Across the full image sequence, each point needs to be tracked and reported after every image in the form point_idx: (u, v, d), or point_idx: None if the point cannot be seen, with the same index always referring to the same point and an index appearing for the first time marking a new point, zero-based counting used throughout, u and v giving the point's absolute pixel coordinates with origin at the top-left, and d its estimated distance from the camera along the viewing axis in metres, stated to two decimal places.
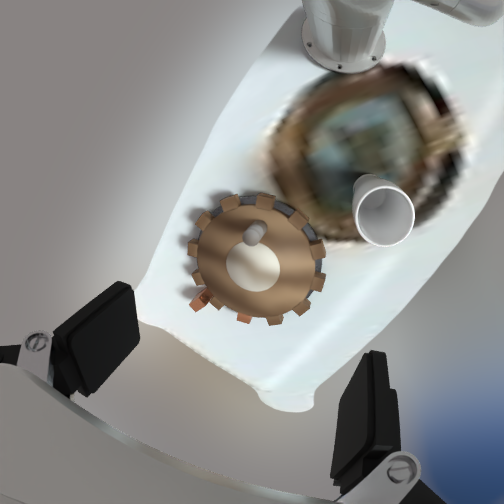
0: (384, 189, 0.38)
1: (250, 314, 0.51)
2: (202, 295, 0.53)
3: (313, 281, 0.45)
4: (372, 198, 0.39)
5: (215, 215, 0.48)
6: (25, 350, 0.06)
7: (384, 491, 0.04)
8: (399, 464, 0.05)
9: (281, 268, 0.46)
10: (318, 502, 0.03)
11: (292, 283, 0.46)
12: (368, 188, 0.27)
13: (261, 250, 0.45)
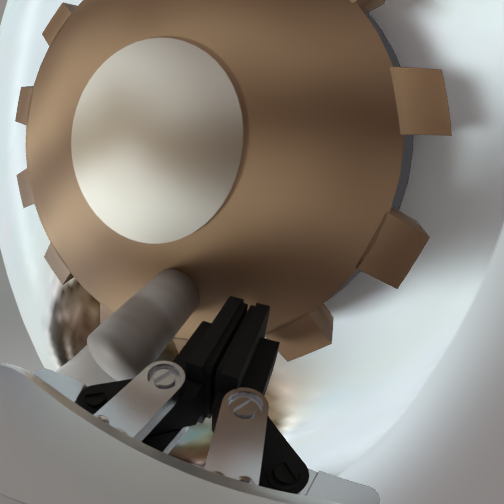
0: None
1: None
2: None
3: (31, 191, 0.14)
4: None
5: None
6: (153, 388, 0.07)
7: (218, 417, 0.06)
8: (239, 401, 0.07)
9: (78, 186, 0.12)
10: (318, 502, 0.03)
11: (50, 157, 0.12)
12: None
13: (136, 220, 0.12)
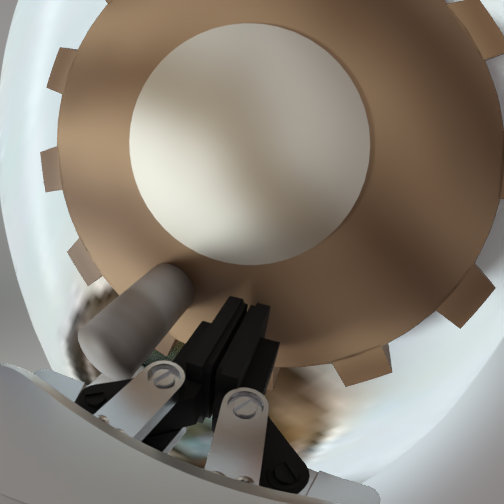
0: None
1: None
2: None
3: (66, 78, 0.10)
4: None
5: None
6: (153, 388, 0.07)
7: (218, 417, 0.06)
8: (240, 401, 0.07)
9: (128, 122, 0.10)
10: (318, 502, 0.03)
11: (113, 63, 0.09)
12: None
13: (176, 210, 0.11)
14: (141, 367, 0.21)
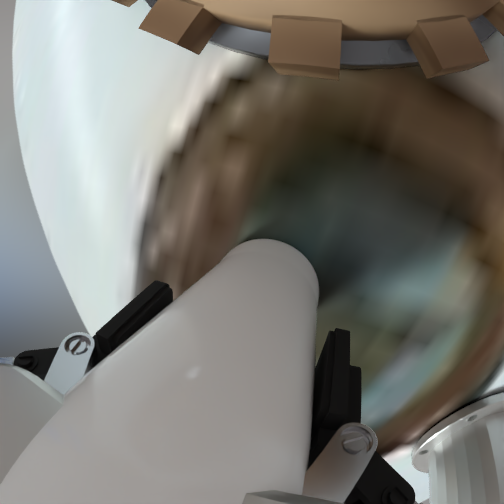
0: None
1: None
2: None
3: None
4: None
5: None
6: (66, 353, 0.07)
7: (336, 459, 0.05)
8: (352, 435, 0.06)
9: None
10: (318, 502, 0.03)
11: None
12: None
13: None
14: (275, 240, 0.14)
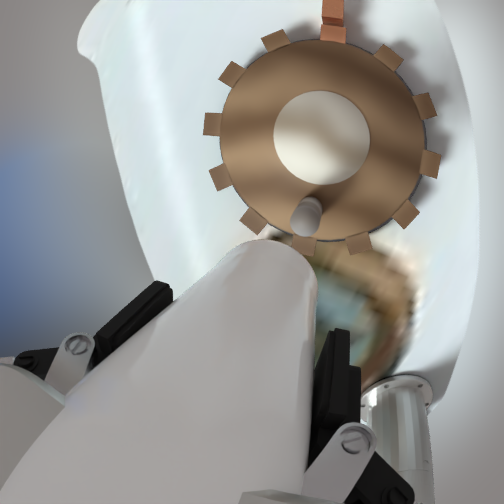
0: None
1: (319, 43, 0.21)
2: (339, 23, 0.20)
3: (219, 128, 0.27)
4: None
5: None
6: (66, 354, 0.07)
7: (335, 459, 0.05)
8: (352, 435, 0.06)
9: (271, 141, 0.26)
10: (318, 502, 0.03)
11: (251, 117, 0.25)
12: None
13: (306, 170, 0.26)
14: (274, 241, 0.14)
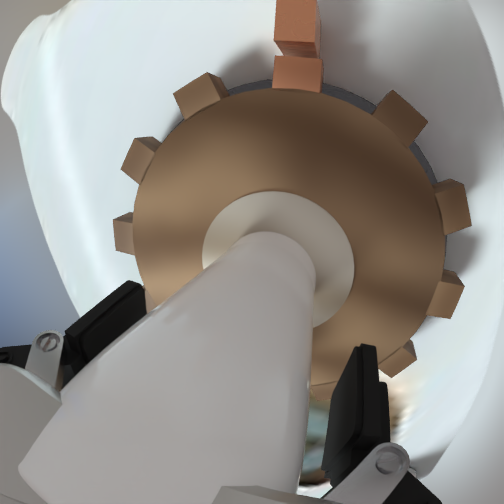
0: None
1: (271, 95, 0.13)
2: (310, 49, 0.12)
3: (133, 244, 0.19)
4: None
5: None
6: (36, 350, 0.07)
7: (372, 481, 0.04)
8: (387, 455, 0.05)
9: (200, 270, 0.18)
10: (318, 502, 0.03)
11: (170, 232, 0.18)
12: None
13: None
14: None
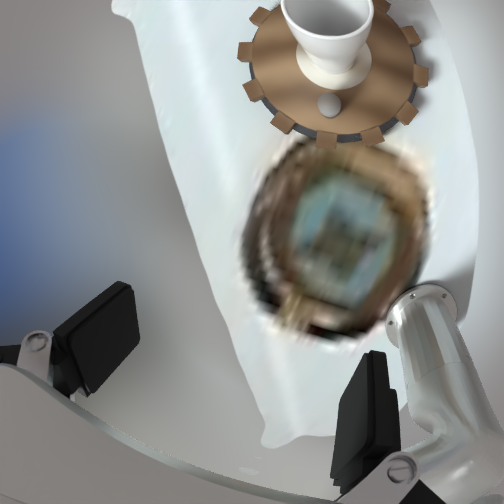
0: None
1: None
2: None
3: (251, 52, 0.29)
4: None
5: None
6: (25, 350, 0.06)
7: (384, 491, 0.04)
8: (399, 464, 0.05)
9: (294, 59, 0.28)
10: (318, 502, 0.03)
11: (277, 43, 0.28)
12: None
13: (324, 79, 0.28)
14: None
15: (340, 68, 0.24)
